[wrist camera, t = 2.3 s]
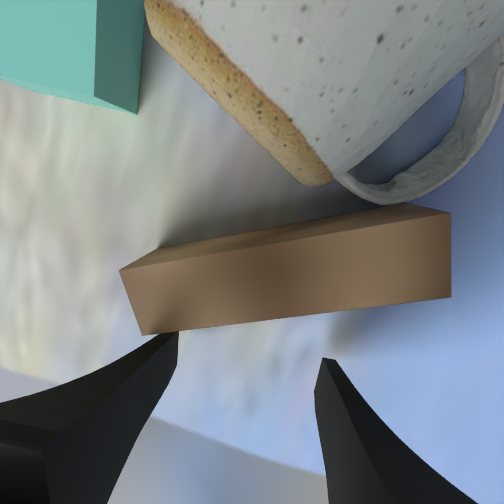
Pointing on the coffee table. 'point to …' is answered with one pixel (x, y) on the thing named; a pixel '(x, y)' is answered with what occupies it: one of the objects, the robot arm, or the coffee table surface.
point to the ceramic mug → (342, 77)
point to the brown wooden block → (294, 270)
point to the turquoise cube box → (74, 49)
